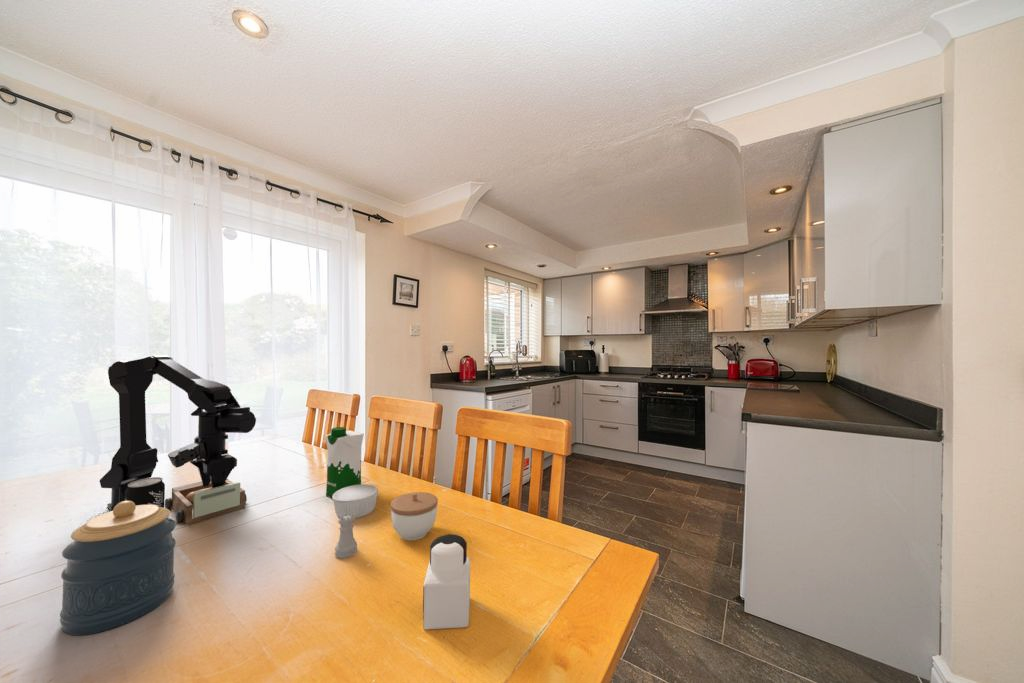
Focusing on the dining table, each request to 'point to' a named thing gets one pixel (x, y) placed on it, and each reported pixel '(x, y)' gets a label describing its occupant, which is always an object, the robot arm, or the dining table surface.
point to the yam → (191, 495)
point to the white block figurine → (447, 584)
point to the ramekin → (355, 500)
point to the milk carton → (343, 459)
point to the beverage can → (146, 492)
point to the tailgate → (216, 499)
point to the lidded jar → (414, 514)
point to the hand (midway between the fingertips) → (210, 489)
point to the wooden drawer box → (186, 508)
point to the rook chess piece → (346, 537)
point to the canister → (117, 568)
